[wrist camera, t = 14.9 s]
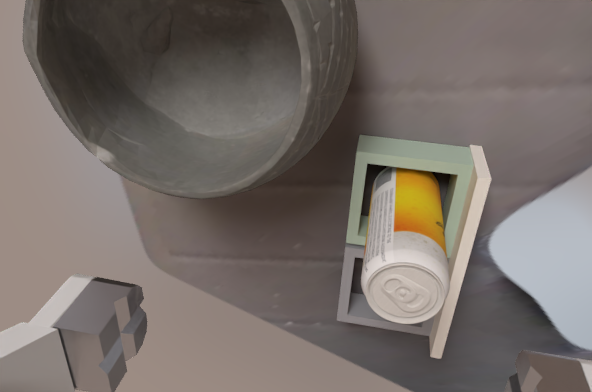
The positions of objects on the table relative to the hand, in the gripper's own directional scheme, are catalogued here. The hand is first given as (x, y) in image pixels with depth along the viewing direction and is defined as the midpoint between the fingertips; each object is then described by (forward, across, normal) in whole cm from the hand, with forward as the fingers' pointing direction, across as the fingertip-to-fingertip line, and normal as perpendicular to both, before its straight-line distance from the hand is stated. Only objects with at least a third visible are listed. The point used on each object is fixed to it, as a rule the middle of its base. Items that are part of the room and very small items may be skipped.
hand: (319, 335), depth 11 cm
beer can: (+34, -4, +15) cm, 38 cm away
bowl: (+34, +12, +1) cm, 36 cm away
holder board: (+34, -4, +20) cm, 40 cm away
